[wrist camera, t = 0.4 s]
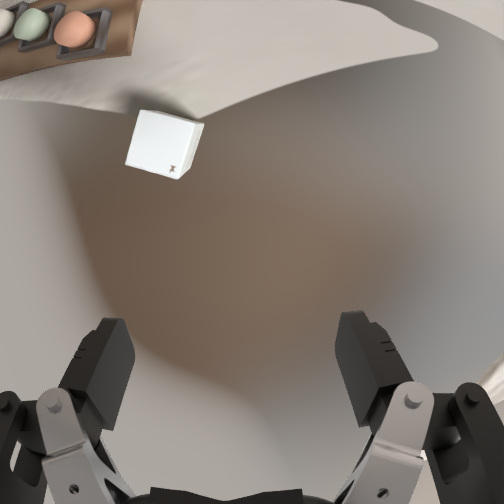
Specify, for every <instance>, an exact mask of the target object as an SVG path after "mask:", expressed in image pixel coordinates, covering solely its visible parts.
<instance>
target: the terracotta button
mask: <svg viewBox="0 0 504 504" xmlns="http://www.w3.org/2000/svg"><path fill="white" fill-rule="evenodd" d="M95 32H96V22H95V20H94V19H92V18H91V17H89V16H87V15H85V14H83V13H82V12H79V11H73V12H70V13H68V14H67V15H65V16H64V17H63V18H62V19H61V20H60V21H59V22H58V24H57V26H56V28H55V31H54V39H55V41H56V42H57V43H58V44H60V45H64V46H67V47H70V48H73V49H77V48H81V47H83V46H85V45H86V44H87V43H88V42H89V41H90V40H91V39H92V38H93V36H94V34H95Z"/></svg>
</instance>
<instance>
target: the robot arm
mask: <svg viewBox="0 0 504 504" xmlns="http://www.w3.org/2000/svg"><path fill="white" fill-rule="evenodd" d="M335 354H336V359H337V362H338V365H339V368H340V371H341V373H342V376H343V379H344V382H345V385H346V388H347V391H348V394H349V397H350V400H351V403H352V406H353V410H354V413H355V416H356V419H357V422H358V425H359V428H360V427H365V426H370V429H371V434H370V436H369V438H368V440H367V442H366V444H365V447H364V449H363V451H362V453H361V455H360V456H359V459H358V461H357V462H356V464H355V466H354V468H353V470H352V472H351V474H350V476H349V477H348V479H347V480H346V482H345V483H344V485H343V486H342V488H341V489H340V491H339V492H338V494H337V496H336V497H335V499H334V500H333V502H330V501H328V500H325V499H321V498H318V497H313V496H307V495H303V494H302V489H294V490H284V491H272V492H262V493H259V494H255V495H251V496H247V497H243V498H238V499H234V500H230V501H220V500H216V499H212V498H209V497H205V496H201V495H198V494H194V493H191V492H187V491H181V490H171V489H163V488H156V487H151V489H150V494H145V495H140V496H135V494H134V493H133V491H132V490H131V488H130V487H129V486H128V485H127V483H126V482H125V481H124V480H123V478H122V477H121V475H120V473H119V471H118V469H117V468H116V466H115V464H114V462H113V460H112V458H111V456H110V454H109V452H108V450H107V448H106V445H105V443H104V441H103V439H102V437H101V436H100V435H101V431H102V429H106V430H111V431H113V429H114V426H115V422H116V419H117V416H118V412H119V409H120V406H121V402H122V399H123V396H124V393H125V390H126V387H127V383H128V380H129V377H130V374H131V371H132V368H133V365H134V362H135V351H134V347H133V344H132V341H131V338H130V336H129V333H128V330H127V327H126V324H125V322H124V320H123V319H122V318H103V319H102V320H101V322H100V324H99V326H98V327H97V329H96V330H92V331H91V332H90V333H89V334H88V335H86V336H85V337H84V338H83V340H82V342H81V343H80V345H79V347H78V350H77V351H76V353H75V355H74V358H73V359H72V360H71V362H70V364H69V366H68V368H67V370H66V372H65V374H64V376H63V378H62V380H61V382H60V384H59V386H58V388H52V389H49V390H47V391H45V392H44V393H42V395H41V396H40V397H39V399H38V400H34V401H21V400H20V399H19V397H18V396H17V395H16V394H15V393H14V392H12V391H5V392H2V393H0V504H43V502H44V497H45V493H46V488H47V483H48V485H49V488H50V491H51V493H52V496H53V499H54V501H55V504H408V503H409V501H410V499H411V496H412V494H413V491H414V489H415V486H416V484H417V481H418V478H419V475H420V472H421V469H422V466H423V458H422V457H420V454H421V450H425V453H426V456H427V459H428V462H429V466H430V469H431V472H432V475H433V479H434V482H435V486H436V489H437V493H438V496H439V500H440V504H504V426H503V423H502V421H501V419H500V418H499V415H498V413H497V411H496V410H495V408H494V406H493V404H492V402H491V400H490V398H489V396H488V395H487V393H486V391H485V390H484V389H483V388H482V387H481V386H479V385H478V384H475V383H464V384H462V385H460V386H459V387H458V389H457V390H456V392H455V393H449V394H448V393H447V394H446V393H445V394H443V393H439V394H438V393H437V394H436V393H432V392H431V391H430V389H429V388H428V387H426V386H425V385H423V384H421V383H419V382H414V380H413V379H412V377H411V375H410V373H409V371H408V370H407V368H406V366H405V364H404V362H403V360H402V358H401V356H400V355H399V353H398V351H396V347H395V346H394V344H393V343H392V340H391V338H390V337H389V335H388V333H387V332H386V330H385V329H384V328H382V327H381V326H380V325H378V324H377V323H376V322H374V323H370V322H369V320H368V318H367V317H366V315H365V313H364V312H363V311H362V310H359V311H350V312H342V314H341V317H340V322H339V327H338V332H337V337H336V341H335ZM17 441H18V442H19V443H20V444H21V448H20V451H19V454H18V457H17V460H16V464H15V467H14V471H13V472H12V470H11V468H10V460H11V456H12V454H13V451H14V448H15V445H16V442H17Z"/></svg>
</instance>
